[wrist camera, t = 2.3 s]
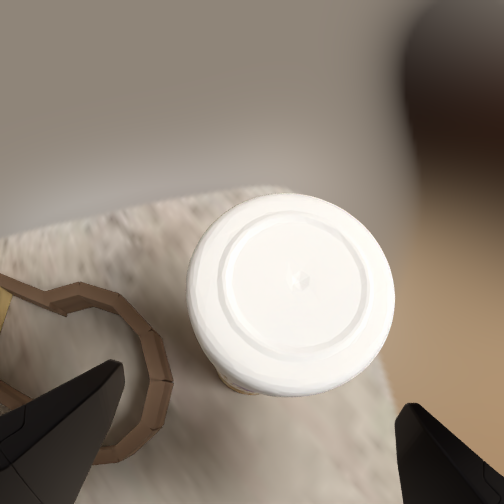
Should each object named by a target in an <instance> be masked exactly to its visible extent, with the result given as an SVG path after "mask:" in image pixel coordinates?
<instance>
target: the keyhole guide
mask: <svg viewBox="0 0 504 504" xmlns="http://www.w3.org/2000/svg"><path fill="white" fill-rule="evenodd" d="M13 295H14V296H17V297H19V298H21V299H23V300H26V301H28V302H30V303H33V304H35V305H37V306H40V307H42V308H45V309H47V310H49V311H52V312H54V313H57V314H60V315H62V316H65V317H67V314H68V313H71V312H75V311H79V310H83V309H87V308H91V307H96V308H99V309H102V310H105V311H108V312H112V313H115V314H118V315H121V317H122V318H123V319H124V320H125V321H126V322H127V323H128V325H129V326H130V327H131V328H132V329H133V330H134V331H135V332H136V333H137V334H138V336H139V337H140V341H141V345H142V350H143V354H144V358H145V361H146V365H147V369H148V373H149V377H150V383H149V387H148V392H147V396H146V400H145V404H144V408H143V412H142V417H141V421H140V423H139V424H138V425H137V426H136V427H135V428H134V429H133V430H131V431H130V432H129V433H128V434H127V435H126V436H125V437H124V438H123V439H122V440H121V441H120V442H119V443H118V444H117V445H111V446H104V447H100V449H99V451H98V453H97V455H96V457H95V459H94V461H93V464H92V465H99V464H109V463H117V462H120V461H122V460H124V459H126V458H128V457H130V456H131V455H133V454H135V453H136V452H137V451H138V450H139V449H140V448H141V447H142V446H143V445H144V444H145V443H146V442H147V441H148V440H150V439H151V438H152V437H153V436H154V435H155V434H156V433H157V432H158V431H159V430H160V429H161V428H162V426H163V425H164V422H165V418H166V413H167V409H168V405H169V401H170V397H171V392H172V388H173V384H174V383H171V382H172V381H173V377H172V374H171V370H170V367H169V363H168V360H167V356H166V352H165V348H164V345H163V341H162V338H161V336H160V335H159V334H158V333H157V332H156V331H155V330H154V329H153V328H152V327H151V326H150V325H149V324H148V323H147V322H146V321H145V320H144V318H143V317H142V316H141V315H140V314H139V313H138V312H137V311H136V310H135V309H134V308H133V307H132V306H131V305H130V304H129V303H128V302H127V301H126V300H125V299H124V297H123V296H122V295H120V294H119V293H116V292H112V291H109V290H106V289H102V288H99V287H96V286H92V285H89V284H86V283H83V282H76V283H73V284H69V285H66V286H62V287H59V288H55V289H52V290H48V291H42V290H40V289H37V288H35V287H32V286H30V285H27V284H25V283H22V282H20V281H17V280H15V279H12V278H10V277H8V276H5V275H3V274H1V273H0V333H1V329H2V326H3V323H4V319H5V316H6V313H7V310H8V307H9V304H10V301H11V298H12V296H13ZM32 400H33V399H31V398H29V397H28V396H26V395H24V394H22V393H21V392H19V391H17V390H16V389H14V388H12V387H11V386H9V385H8V384H6V383H4V382H3V381H1V380H0V403H2V404H3V405H5V406H6V407H8V408H9V409H11V410H14V409H16V408H18V407H20V406H22V405H24V404H25V405H26V403H28V402H30V401H32Z"/></svg>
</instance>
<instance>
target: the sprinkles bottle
mask: <svg viewBox="0 0 504 504" xmlns="http://www.w3.org/2000/svg"><path fill="white" fill-rule="evenodd" d="M186 302H187V309H188V314H189V318H190V321H191V324H192V328H193V330H194V333H195V336H196V338H197V340H198V342H199V344H200V346H201V348H202V350H203V352H204V353H205V355H206V356H207V357H208V359H209V360H210V361H211V363H212V364H213V365H214V366H215V368H216V370H217V373H218V375H219V377H220V379H221V380H222V381H223V382H224V383H225V384H226V385H227V386H228V387H229V388H231V389H233V390H235V391H237V392H239V393H241V394H248V395H258V394H263V395H268V396H275V397H301V396H309V395H315V394H319V393H323V392H326V391H329V390H331V389H334V388H336V387H339V386H341V385H343V384H345V383H346V382H348V381H349V380H351V379H352V378H354V377H355V376H357V375H358V374H360V373H361V372H362V371H363V370H364V369H365V368H366V367H367V366H368V365H369V364H370V363H371V362H372V360H373V359H374V358H375V357H376V355H377V354H378V353H379V351H380V349H381V348H382V346H383V344H384V342H385V340H386V338H387V336H388V333H389V330H390V327H391V324H392V319H393V314H394V306H395V293H394V283H393V278H392V274H391V270H390V267H389V264H388V262H387V259H386V257H385V255H384V253H383V251H382V249H381V247H380V246H379V244H378V243H377V241H376V240H375V238H374V237H373V236H372V234H371V233H370V232H369V231H368V230H367V229H366V228H365V226H364V225H363V224H362V223H360V222H359V221H358V220H357V219H356V218H354V217H353V216H352V215H350V214H349V213H347V212H346V211H345V210H343V209H342V208H340V207H338V206H336V205H334V204H332V203H329V202H327V201H324V200H322V199H319V198H316V197H312V196H308V195H302V194H292V193H277V194H269V195H264V196H259V197H256V198H252V199H249V200H247V201H245V202H242V203H240V204H238V205H236V206H234V207H232V208H231V209H230V210H228V211H226V212H225V213H224V214H222V215H221V216H220V217H219V218H218V219H217V220H216V221H215V222H213V223H212V224H211V225H210V227H209V228H208V229H207V230H206V232H205V233H204V234H203V236H202V237H201V239H200V240H199V242H198V244H197V246H196V248H195V250H194V252H193V255H192V257H191V260H190V263H189V267H188V271H187V277H186Z"/></svg>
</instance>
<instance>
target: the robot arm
mask: <svg viewBox="0 0 504 504" xmlns="http://www.w3.org/2000/svg"><path fill="white" fill-rule="evenodd" d="M124 386H125V377H124V369H123V364H122V363H121V362H119V361H115V360H112V359H110V360H107V361H105V362H104V363H102V364H100V365H98V366H96V367H94V368H92V369H91V370H89V371H87V372H85V373H83V374H81V375H79V376H77V377H76V378H74V379H72V380H70V381H68V382H66V383H64V384H62V385H60V386H59V387H57V388H55V389H53V390H51V391H49V392H47V393H45V394H43V395H41V396H39V397H37V398H36V399H34V400H32V401H30V402H28V403H26V405H25V404H24V405H22V406H20V407H18V408H16V409H14V410H12V411H10V412H7V413H5V414H3V415H1V416H0V504H74V502H75V500H76V498H77V496H78V494H79V491H80V489H81V487H82V485H83V483H84V481H85V478H86V476H87V474H88V472H89V470H90V468H91V466H92V464H93V461H94V459H95V457H96V455H97V453H98V451H99V449H100V447H101V445H102V443H103V441H104V439H105V437H106V435H107V433H108V430H109V428H110V426H111V423H112V421H113V418H114V415H115V412H116V409H117V406H118V403H119V401H120V398H121V395H122V392H123V390H124ZM395 437H396V451H397V464H398V471H399V477H400V483H401V490H402V497H403V504H504V477H503V476H502V475H500V474H499V473H498V472H496V471H495V470H494V469H493V468H492V467H490V466H489V465H488V464H487V463H486V462H485V461H483V460H482V459H481V458H480V457H479V456H478V455H477V454H476V453H474V452H473V451H472V450H471V449H470V448H469V447H468V446H466V445H465V444H464V443H463V442H462V441H461V440H460V439H458V438H457V437H456V436H455V435H454V434H453V433H451V432H450V431H449V430H448V429H447V428H446V427H445V426H443V425H442V424H441V423H440V422H439V421H438V420H437V419H436V418H434V417H433V416H432V415H431V414H430V413H429V412H427V411H426V410H425V409H424V408H423V407H422V406H421V405H420V404H418V403H407V404H405V406H404V407H403V409H402V410H401V412H400V414H399V415H398V417H397V418H396V421H395Z"/></svg>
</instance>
